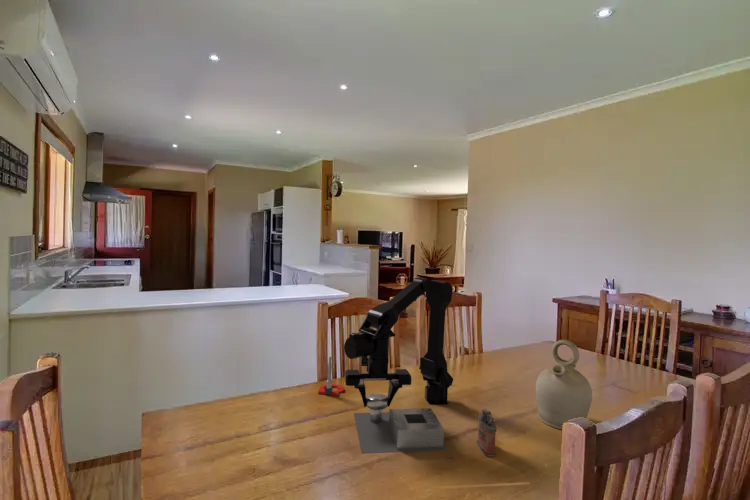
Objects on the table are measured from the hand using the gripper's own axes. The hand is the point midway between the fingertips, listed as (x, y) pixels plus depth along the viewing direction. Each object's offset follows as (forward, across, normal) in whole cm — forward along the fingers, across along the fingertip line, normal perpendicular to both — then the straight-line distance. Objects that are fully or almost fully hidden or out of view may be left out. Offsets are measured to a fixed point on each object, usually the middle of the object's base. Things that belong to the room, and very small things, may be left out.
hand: (376, 406), depth 117 cm
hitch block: (+4, -9, +10) cm, 14 cm away
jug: (+5, -56, +3) cm, 56 cm away
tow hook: (+5, +12, -23) cm, 26 cm away
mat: (+4, -5, +6) cm, 9 cm away
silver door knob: (+4, 0, 0) cm, 4 cm away
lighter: (+5, -26, +17) cm, 31 cm away
